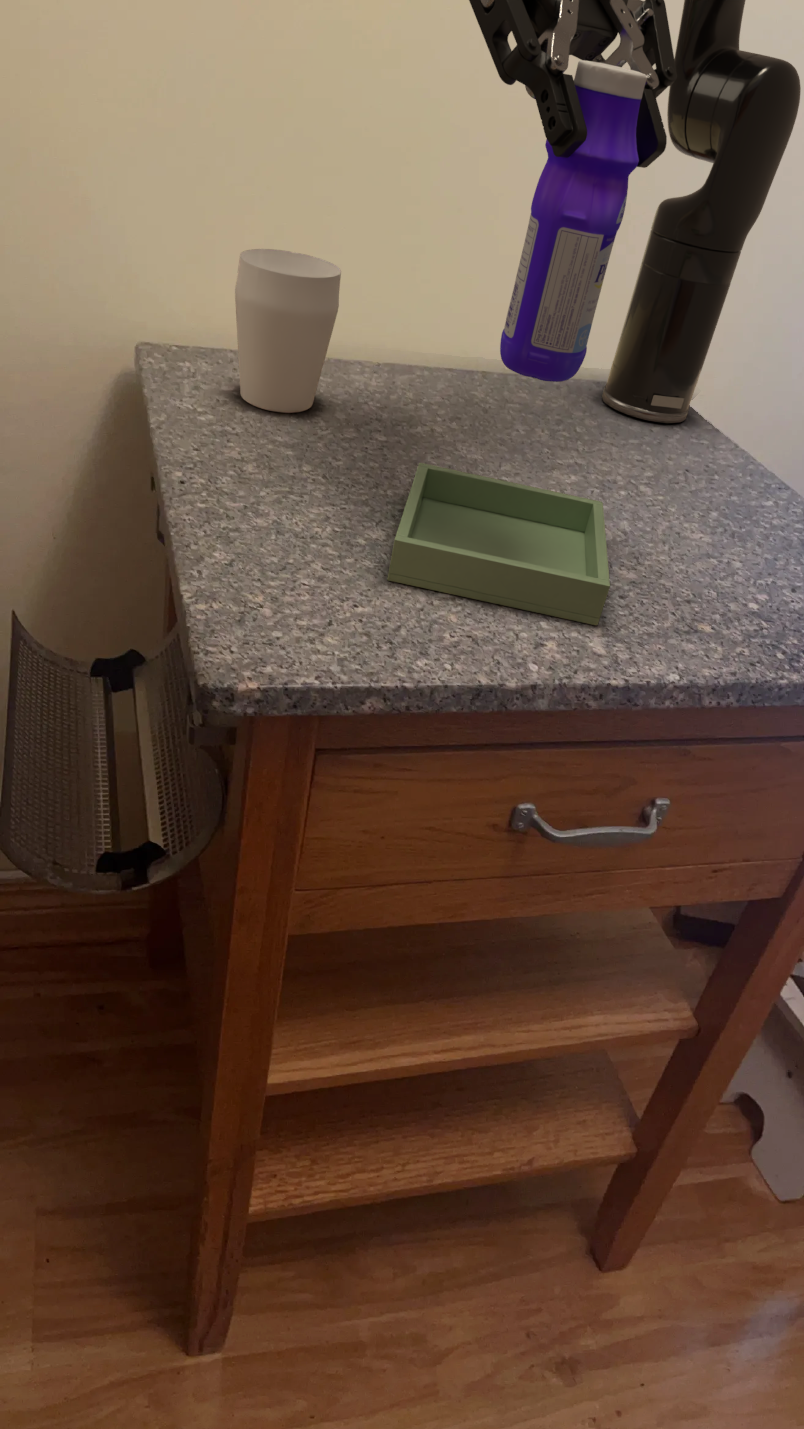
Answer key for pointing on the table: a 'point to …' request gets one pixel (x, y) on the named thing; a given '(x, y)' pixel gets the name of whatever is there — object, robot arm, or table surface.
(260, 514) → the table surface
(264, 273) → the cup
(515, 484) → the tray
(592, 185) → the bottle
